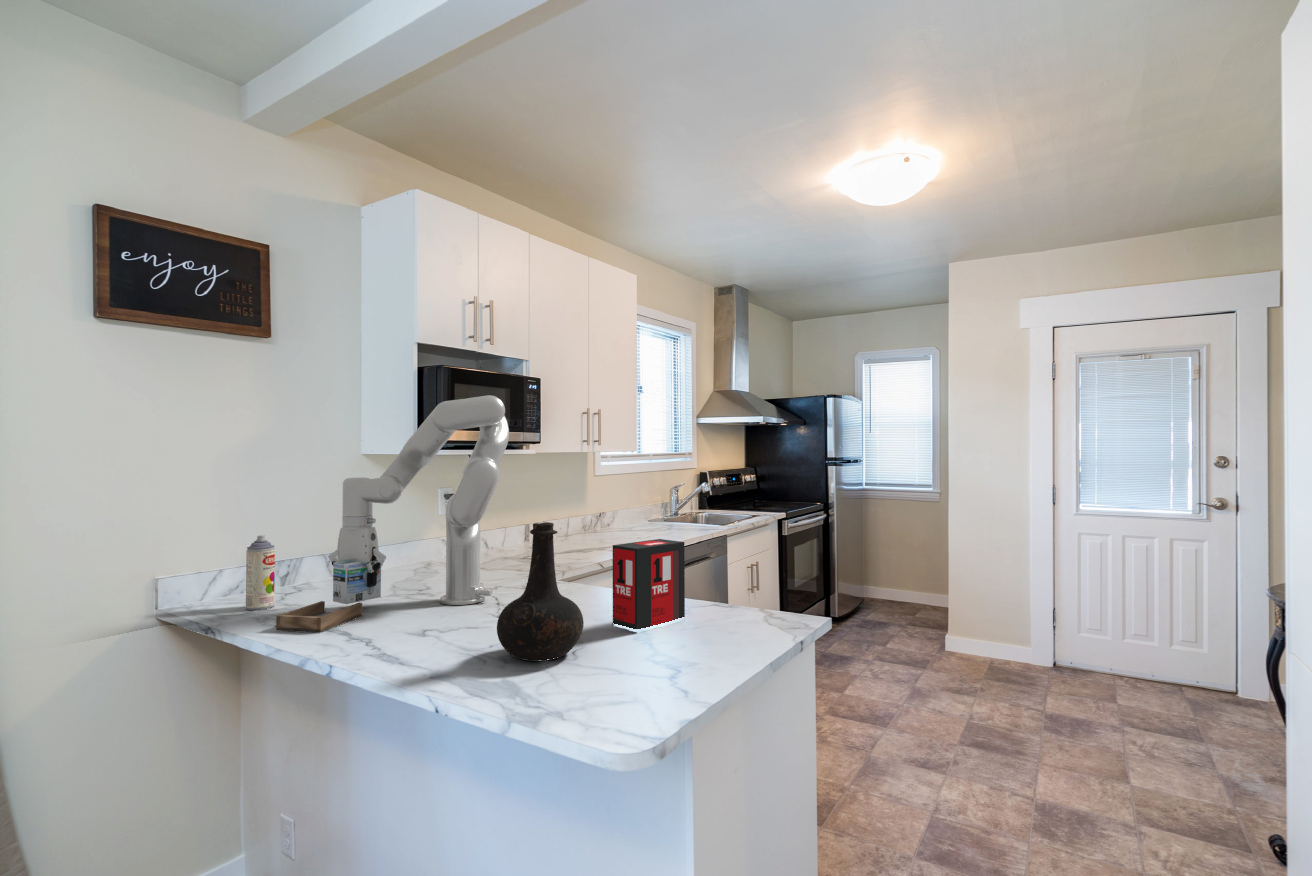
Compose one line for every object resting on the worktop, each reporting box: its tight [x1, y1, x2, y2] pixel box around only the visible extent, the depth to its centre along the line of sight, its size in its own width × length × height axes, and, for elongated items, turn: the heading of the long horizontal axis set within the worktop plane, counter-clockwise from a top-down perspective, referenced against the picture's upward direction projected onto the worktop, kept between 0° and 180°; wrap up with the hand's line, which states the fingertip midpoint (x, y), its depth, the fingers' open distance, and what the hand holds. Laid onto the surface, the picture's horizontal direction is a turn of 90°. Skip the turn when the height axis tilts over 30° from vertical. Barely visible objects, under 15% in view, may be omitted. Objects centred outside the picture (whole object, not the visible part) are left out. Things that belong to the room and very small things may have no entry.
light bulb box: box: [332, 560, 382, 605], centre depth 178 cm, size 11×7×11 cm, turn 149°
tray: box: [275, 600, 363, 633], centre depth 163 cm, size 12×16×4 cm
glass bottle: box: [496, 521, 585, 661], centre depth 137 cm, size 18×18×28 cm
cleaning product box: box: [612, 538, 686, 629], centre depth 162 cm, size 16×9×20 cm, turn 134°
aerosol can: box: [245, 534, 276, 611], centre depth 180 cm, size 7×7×20 cm
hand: (357, 585), depth 178 cm, fingers closed on light bulb box, 8 cm apart
